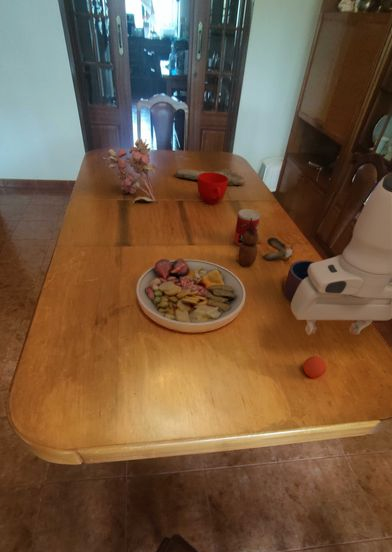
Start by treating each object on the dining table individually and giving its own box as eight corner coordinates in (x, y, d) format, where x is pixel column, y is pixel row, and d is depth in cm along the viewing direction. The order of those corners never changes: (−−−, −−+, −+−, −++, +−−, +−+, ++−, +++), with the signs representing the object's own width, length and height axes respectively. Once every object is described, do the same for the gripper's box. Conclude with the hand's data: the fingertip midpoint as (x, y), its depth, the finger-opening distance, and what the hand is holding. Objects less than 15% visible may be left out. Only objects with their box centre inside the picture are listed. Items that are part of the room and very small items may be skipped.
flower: (169, 185, 147) (143, 125, 131) (173, 200, 130) (144, 133, 114) (131, 205, 150) (101, 149, 134) (131, 221, 134) (96, 159, 117)
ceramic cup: (202, 212, 133) (204, 187, 126) (193, 196, 144) (194, 172, 137) (231, 211, 136) (235, 186, 129) (220, 195, 147) (223, 172, 140)
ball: (317, 365, 77) (325, 351, 73) (325, 382, 74) (333, 368, 70) (297, 366, 77) (304, 352, 73) (304, 382, 73) (311, 368, 70)
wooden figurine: (236, 257, 109) (243, 214, 99) (252, 259, 110) (262, 216, 99) (237, 268, 105) (245, 224, 94) (254, 269, 105) (264, 226, 94)
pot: (316, 282, 102) (325, 260, 96) (330, 307, 93) (341, 285, 88) (278, 282, 101) (285, 260, 95) (289, 307, 92) (297, 284, 86)
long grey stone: (178, 175, 165) (173, 183, 159) (177, 164, 161) (173, 171, 155) (245, 180, 161) (243, 188, 155) (246, 169, 157) (245, 176, 151)
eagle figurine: (288, 249, 114) (264, 242, 113) (297, 239, 107) (272, 231, 106) (284, 268, 112) (260, 261, 111) (293, 260, 105) (268, 252, 104)
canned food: (237, 249, 114) (242, 219, 106) (230, 238, 119) (235, 208, 111) (257, 248, 115) (263, 218, 107) (250, 237, 120) (255, 208, 112)
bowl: (263, 305, 92) (269, 283, 86) (189, 357, 76) (191, 333, 71) (191, 262, 105) (192, 240, 100) (115, 298, 90) (112, 275, 84)
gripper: (406, 266, 59) (371, 322, 69) (300, 263, 57) (280, 321, 67) (426, 286, 54) (385, 343, 64) (312, 284, 52) (288, 343, 62)
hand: (331, 332), depth 65 cm, fingers open, 8 cm apart
